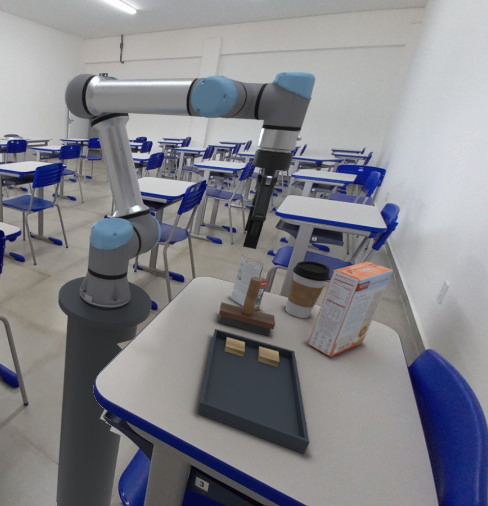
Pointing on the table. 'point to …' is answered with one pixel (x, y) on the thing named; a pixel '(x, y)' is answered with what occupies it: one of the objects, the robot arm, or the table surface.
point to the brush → (248, 312)
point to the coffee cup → (306, 287)
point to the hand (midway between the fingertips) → (249, 239)
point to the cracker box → (349, 307)
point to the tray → (255, 392)
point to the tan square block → (235, 346)
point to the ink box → (247, 281)
